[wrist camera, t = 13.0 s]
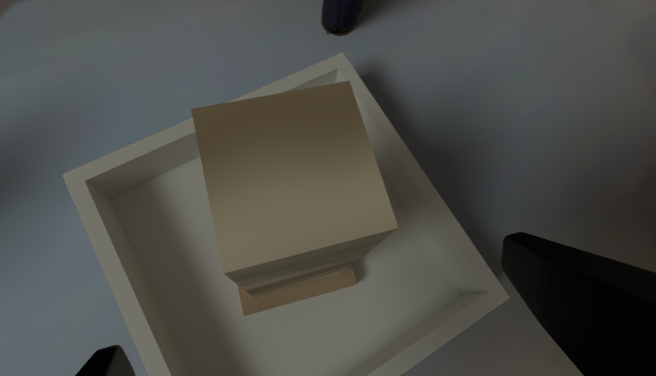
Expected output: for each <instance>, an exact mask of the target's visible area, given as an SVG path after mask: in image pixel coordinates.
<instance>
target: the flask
mask: <svg viewBox="0 0 656 376" xmlns="http://www.w3.org/2000/svg"><path fill="white" fill-rule="evenodd" d="M362 2H363V0H323V7H322V18H321V23H322V26H323V27H324V29H325V30H326V31H327V34H330V33H331V34H333V35H337V36H342V35H347V34H348V33H349V32H350V31H352V30H353V27H354V26H355V24H356V22H357V19H358V16H359V13H360V11H361V5H362V4H363V3H362Z"/></svg>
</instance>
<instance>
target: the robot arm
mask: <svg viewBox="0 0 656 376" xmlns="http://www.w3.org/2000/svg"><path fill="white" fill-rule="evenodd" d="M501 266H502V269H503V271H504V273H505V274H506V276H507V277H508V278H509V280H510V281H511V283H512V284H513V286H514V287H515V289H516V290H517V291H518V293H519V294H520V296H521V297H522V299H523V300H524V302H525V303H526V304H527V306H528V307H529V309H530V310H531V312H532V313H533V315H534V316H535V317H536V319H537V320H538V321H539V323H540V324H541V325H542V326H543V328H544V329H545V330H546V331H547V333H548V334H549V335H550V336H551V337H552V339H553V340H554V341H555V342H556V343H557V344H558V346H559V347H560V348H561V349H562V350H563V352H564V353H565V354H566V355H567V356H568V357H569V359H570V360H571V361H572V362H573V363H574V365H575V366H576V367H577V368H578V369H579V370H580V372H581V373H582V374H583V375H584V376H656V273H654V272H651V271H648V270H644V269H641V268H638V267H635V266H631V265H628V264H625V263H622V262H618V261H615V260H612V259H609V258H605V257H602V256H599V255H596V254H592V253H589V252H586V251H582V250H579V249H576V248H573V247H569V246H566V245H563V244H560V243H556V242H553V241H550V240H547V239H543V238H540V237H537V236H534V235H530V234H527V233H524V232H517V233H514V234H510V235H507V236H506V237H505V238H504V240H503V248H502V256H501ZM75 376H135V373H134V370H133V368H132V366H131V364H130V362H129V360H128V358H127V356H126V354H125V352H124V350H123V349H122V347H121V346H119V345H113V346H110V347H106V348H103V349H100V350H97V351H96V352H95V353H94V354H93V355H92V356H91V358H90V359H89V360H88V361H87V362H86V363H85V365H84V366H83V367H82V368H81V369H80V371H79V372H78V373H77V374H76V375H75Z"/></svg>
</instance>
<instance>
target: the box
mask: <svg viewBox="0 0 656 376" xmlns="http://www.w3.org/2000/svg"><path fill="white" fill-rule="evenodd" d="M344 81H350V84H351V87H352V90H353V93H354V96H355V99H356V102H357V105H358V108H359V111H360V114H361V117H362V120H363V123H364V126H365V129H366V132H367V135H368V138H369V141H370V144H371V147H372V150H373V153H374V156H375V159H376V162H377V165H378V168H379V171H380V174H381V177H382V180H383V183H384V186H385V189H386V192H387V195H388V198H389V201H390V204H391V207H392V210H393V213H394V216H395V219H396V222H397V225H398V229H397V230H396V231H394V232H393V233H392V234H391V235H389V236H388V237H387V238H386V239H384V240H383V241H382V242H380V243H379V244H378V245H377V246H375V247H374V248H373V249H372V250H370V251H369V252H368V253H367V254H365V255H364V256H363V257H362V258H360V259H359V260H358V261H357V262H355V263H354V264H353V265H352V267H353V270H354V274H355V277H356V281H357V284H356V285H353V286H350V287H346V288H343V289H339V290H335V291H332V292H328V293H325V294H321V295H318V296H314V297H311V298H307V299H304V300H300V301H296V302H293V303H289V304H286V305H282V306H279V307H275V308H272V309H268V310H265V311H261V312H257V313H254V314H250V315H247V316H244V315H243V310H242V306H241V301H240V296H239V291H238V286H237V284H236V283H235V282H234V281H232V280H231V279H230V278H228V277H227V276H226V275H225V274H223V270H222V265H221V259H220V254H219V249H218V244H217V239H216V234H215V229H214V224H213V219H212V213H211V208H210V203H209V198H208V193H207V188H206V183H205V178H204V173H203V167H202V162H201V157H200V152H199V147H198V142H197V137H196V132H195V126H194V121H193V118H191V119H188V120H186V121H184V122H181V123H179V124H177V125H174V126H172V127H170V128H168V129H165V130H163V131H161V132H158V133H156V134H154V135H151V136H149V137H147V138H145V139H142V140H140V141H138V142H135V143H133V144H131V145H128V146H126V147H124V148H122V149H119V150H117V151H115V152H112V153H110V154H108V155H105V156H103V157H101V158H99V159H96V160H94V161H92V162H89V163H87V164H85V165H82V166H80V167H78V168H76V169H73V170H71V171H69V172H66V173H64V174H62V177H63V179H64V181H65V184H66V186H67V188H68V191H69V193H70V195H71V198H72V200H73V202H74V205H75V207H76V209H77V211H78V214H79V216H80V218H81V221H82V223H83V225H84V228H85V230H86V232H87V235H88V237H89V239H90V242H91V244H92V246H93V249H94V251H95V253H96V255H97V258H98V260H99V262H100V265H101V267H102V269H103V272H104V274H105V276H106V279H107V281H108V283H109V286H110V288H111V290H112V293H113V295H114V297H115V299H116V302H117V304H118V306H119V309H120V311H121V313H122V316H123V318H124V320H125V323H126V325H127V327H128V330H129V332H130V334H131V337H132V339H133V341H134V343H135V346H136V348H137V350H138V353H139V355H140V357H141V360H142V362H143V364H144V367H145V369H146V371H147V374H148V376H401V375H402V374H403V373H405V372H406V371H408V370H409V369H410V368H412V367H413V366H415V365H416V364H417V363H419V362H420V361H422V360H423V359H425V358H426V357H427V356H429V355H430V354H432V353H433V352H434V351H436V350H437V349H439V348H440V347H441V346H443V345H444V344H446V343H447V342H449V341H450V340H451V339H453V338H454V337H456V336H457V335H458V334H460V333H461V332H463V331H464V330H466V329H467V328H468V327H470V326H471V325H473V324H474V323H475V322H477V321H478V320H480V319H481V318H482V317H484V316H485V315H487V314H488V313H490V312H491V311H492V310H494V309H495V308H497V307H498V306H499V305H501V304H502V303H504V302H505V301H506V300H508V299H509V298H510V297H509V296H508V294H507V293H506V291H505V290H504V288H503V287H502V285H501V284H500V283H499V281H498V280H497V278H496V277H495V275H494V274H493V272H492V271H491V269H490V268H489V266H488V265H487V263H486V262H485V260H484V259H483V258H482V256H481V255H480V253H479V252H478V250H477V249H476V247H475V246H474V244H473V243H472V241H471V240H470V238H469V237H468V236H467V234H466V233H465V231H464V230H463V228H462V227H461V225H460V224H459V222H458V221H457V219H456V218H455V216H454V215H453V214H452V212H451V211H450V209H449V208H448V206H447V205H446V203H445V202H444V200H443V199H442V197H441V196H440V194H439V193H438V191H437V190H436V189H435V187H434V186H433V184H432V183H431V181H430V180H429V178H428V177H427V175H426V174H425V172H424V171H423V169H422V168H421V167H420V165H419V164H418V162H417V161H416V159H415V158H414V156H413V155H412V153H411V152H410V150H409V149H408V147H407V146H406V145H405V143H404V142H403V140H402V139H401V137H400V136H399V134H398V133H397V131H396V130H395V128H394V127H393V125H392V124H391V122H390V121H389V120H388V118H387V117H386V115H385V114H384V112H383V111H382V109H381V108H380V106H379V105H378V103H377V102H376V100H375V99H374V98H373V96H372V95H371V93H370V92H369V90H368V89H367V87H366V86H365V84H364V83H363V81H362V80H361V78H360V77H359V76H358V74H357V73H356V71H355V70H354V68H353V67H352V65H351V64H350V62H349V61H348V59H347V58H346V56H345V55H344V53H343V52H342V53H340V54H338V55H335V56H333V57H331V58H329V59H326V60H324V61H322V62H319V63H317V64H315V65H312V66H310V67H308V68H306V69H303V70H301V71H299V72H296V73H294V74H292V75H289V76H287V77H285V78H283V79H280V80H278V81H276V82H273V83H271V84H269V85H266V86H264V87H262V88H260V89H257V90H255V91H253V92H250V93H248V94H246V95H243V96H241V97H239V98H237V99H234V100H232V101H230V102H234V101H239V100H245V99H250V98H256V97H261V96H267V95H273V94H278V93H284V92H289V91H295V90H300V89H306V88H311V87H317V86H322V85H328V84H333V83H339V82H344ZM227 103H228V102H227Z"/></svg>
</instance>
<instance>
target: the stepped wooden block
mask: <svg viewBox="0 0 656 376" xmlns="http://www.w3.org/2000/svg"><path fill="white" fill-rule="evenodd" d="M191 111H192V116H193V121H194V126H195V132H196V137H197V142H198V147H199V152H200V157H201V162H202V167H203V173H204V178H205V183H206V188H207V193H208V198H209V203H210V208H211V213H212V219H213V224H214V229H215V234H216V239H217V244H218V249H219V254H220V259H221V265H222V270H223V274H225V275H226V276H227V277H228V278H230V279H231V280H232V281H234V282H235V283H236V284H237V286H238V291H239V296H240V301H241V306H242V310H243V315H244V316H247V315H250V314H254V313H257V312H261V311H265V310H268V309H272V308H275V307H279V306H282V305H286V304H289V303H293V302H296V301H300V300H304V299H307V298H311V297H314V296H318V295H321V294H325V293H328V292H332V291H335V290H339V289H343V288H346V287H350V286H353V285H356V284H357V281H356V277H355V274H354V270H353V267H352V265H353V264H354V263H355V262H357V261H358V260H359V259H360V258H362V257H363V256H364V255H365V254H367V253H368V252H369V251H370V250H372V249H373V248H374V247H375V246H377V245H378V244H379V243H380V242H382V241H383V240H384V239H386V238H387V237H388V236H389V235H391V234H392V233H393V232H394V231H396V230H397V229H398V225H397V222H396V219H395V216H394V213H393V210H392V207H391V204H390V201H389V198H388V195H387V192H386V189H385V186H384V183H383V180H382V177H381V174H380V171H379V168H378V165H377V162H376V159H375V156H374V153H373V150H372V147H371V144H370V141H369V138H368V135H367V132H366V129H365V126H364V123H363V120H362V117H361V114H360V111H359V108H358V105H357V102H356V99H355V96H354V93H353V90H352V87H351V84H350V81H344V82H339V83H333V84H328V85H322V86H317V87H311V88H306V89H300V90H295V91H289V92H284V93H278V94H273V95H267V96H261V97H256V98H250V99H245V100H239V101H234V102H228V103H223V104H217V105H212V106H206V107H201V108H195V109H191Z"/></svg>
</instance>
